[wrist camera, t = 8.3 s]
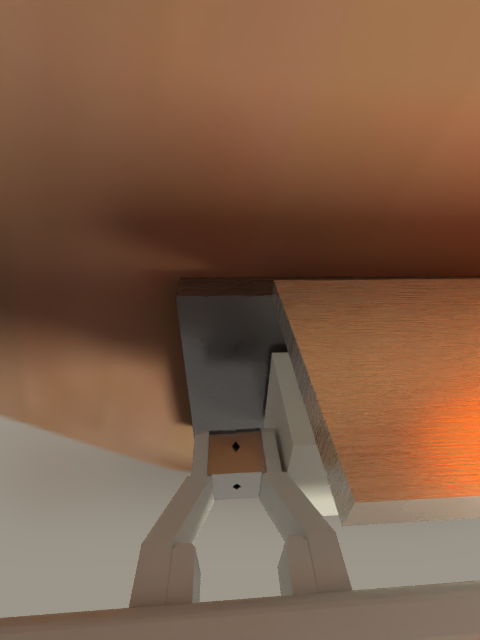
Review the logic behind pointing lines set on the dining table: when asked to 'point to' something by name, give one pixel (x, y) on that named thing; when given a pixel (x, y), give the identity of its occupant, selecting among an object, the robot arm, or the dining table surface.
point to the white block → (296, 435)
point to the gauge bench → (351, 381)
